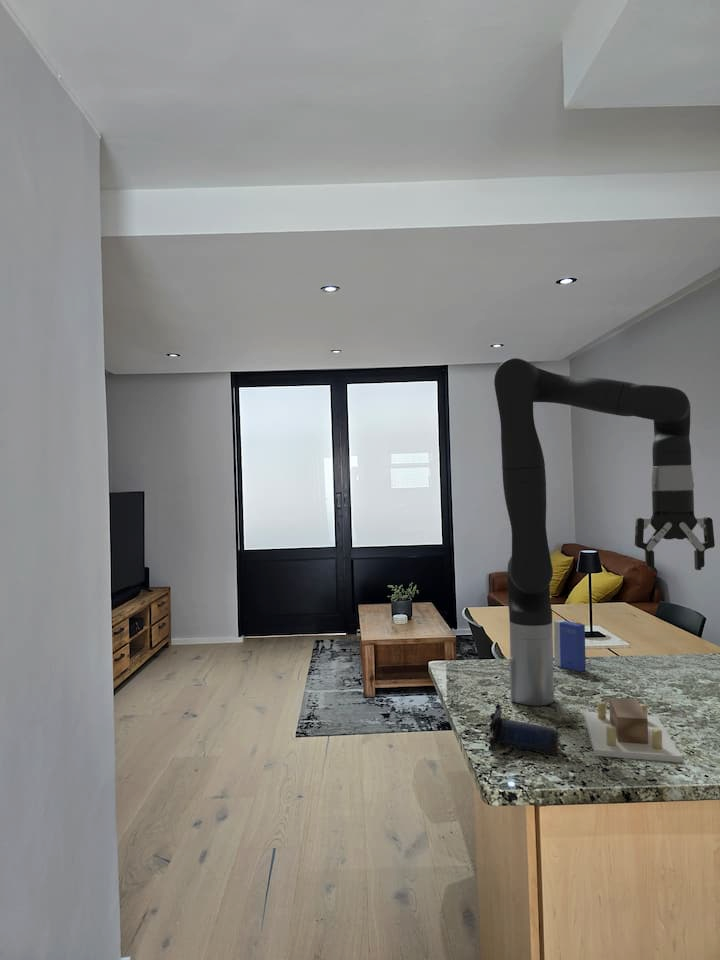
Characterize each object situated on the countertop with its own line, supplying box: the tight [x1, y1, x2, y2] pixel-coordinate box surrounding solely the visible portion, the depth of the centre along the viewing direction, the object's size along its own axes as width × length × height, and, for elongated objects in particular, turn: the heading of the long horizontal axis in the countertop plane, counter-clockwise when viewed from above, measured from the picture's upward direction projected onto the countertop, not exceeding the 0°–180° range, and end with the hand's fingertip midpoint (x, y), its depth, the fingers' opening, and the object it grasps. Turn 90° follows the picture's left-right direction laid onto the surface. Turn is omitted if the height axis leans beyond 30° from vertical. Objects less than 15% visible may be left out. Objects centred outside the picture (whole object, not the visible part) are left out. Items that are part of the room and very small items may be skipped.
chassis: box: [583, 701, 683, 763], centre depth 122 cm, size 14×20×4 cm
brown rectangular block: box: [608, 697, 648, 744], centre depth 122 cm, size 5×11×4 cm, turn 166°
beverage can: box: [488, 703, 560, 755], centre depth 118 cm, size 9×8×12 cm
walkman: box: [553, 619, 587, 673], centre depth 170 cm, size 8×3×12 cm, turn 32°
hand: (674, 569), depth 131 cm, fingers open, 8 cm apart
